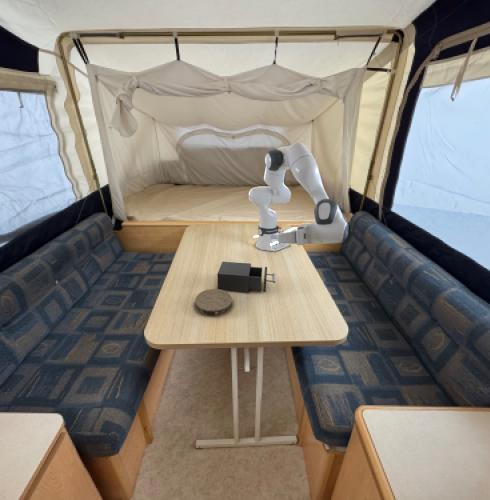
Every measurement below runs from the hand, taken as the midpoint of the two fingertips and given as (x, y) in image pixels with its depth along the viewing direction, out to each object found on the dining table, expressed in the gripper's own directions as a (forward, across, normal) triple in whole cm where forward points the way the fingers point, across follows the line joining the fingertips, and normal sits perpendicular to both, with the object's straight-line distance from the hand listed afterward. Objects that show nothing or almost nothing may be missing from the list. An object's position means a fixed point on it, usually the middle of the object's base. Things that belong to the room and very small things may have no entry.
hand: (275, 234), depth 117 cm
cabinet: (+23, +2, +24) cm, 33 cm away
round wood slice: (+23, +21, +27) cm, 41 cm away
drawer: (+13, -2, +25) cm, 28 cm away
